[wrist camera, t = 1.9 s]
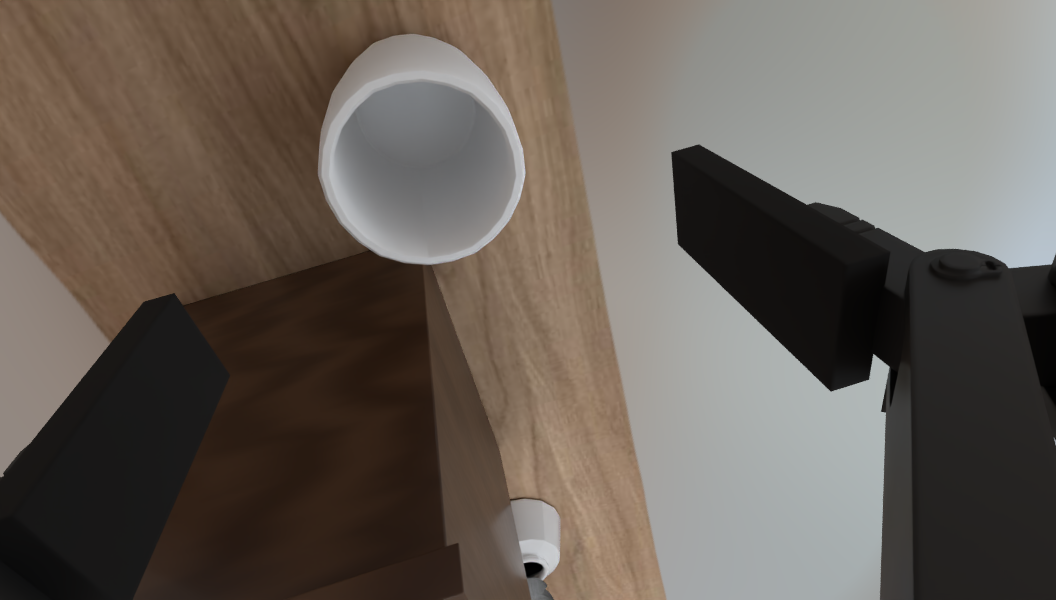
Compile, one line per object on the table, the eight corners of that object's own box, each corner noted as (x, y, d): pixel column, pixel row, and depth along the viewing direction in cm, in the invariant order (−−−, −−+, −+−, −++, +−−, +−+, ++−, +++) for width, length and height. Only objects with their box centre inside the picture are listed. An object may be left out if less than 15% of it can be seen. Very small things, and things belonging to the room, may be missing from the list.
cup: (487, 29, 31) (541, 61, 20) (484, 171, 36) (527, 269, 24) (333, 21, 30) (290, 50, 18) (349, 172, 34) (323, 277, 22)
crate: (312, 514, 48) (240, 960, 26) (162, 304, 36) (-210, 817, 14) (506, 452, 49) (592, 832, 27) (425, 227, 37) (464, 592, 15)
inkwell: (552, 486, 53) (581, 582, 44) (576, 586, 62) (604, 681, 54) (460, 513, 52) (472, 616, 44) (499, 610, 62) (515, 710, 53)
